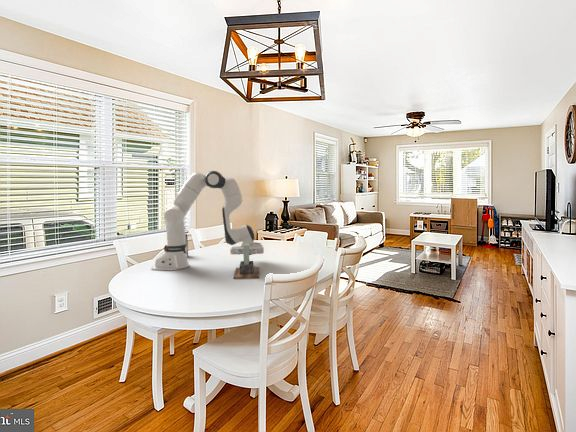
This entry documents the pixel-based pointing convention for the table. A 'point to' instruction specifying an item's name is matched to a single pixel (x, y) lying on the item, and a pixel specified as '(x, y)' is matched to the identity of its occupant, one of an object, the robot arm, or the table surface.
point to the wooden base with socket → (246, 271)
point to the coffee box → (186, 243)
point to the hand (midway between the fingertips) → (246, 252)
